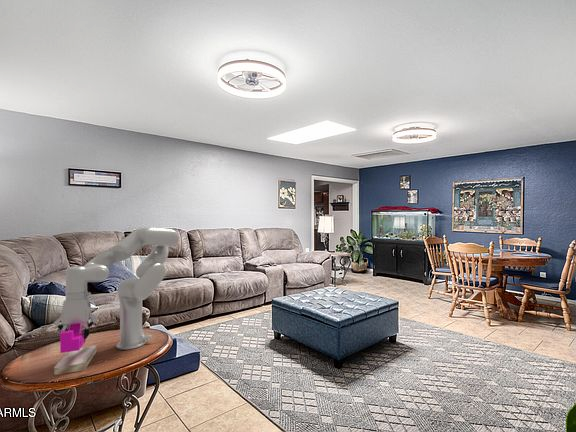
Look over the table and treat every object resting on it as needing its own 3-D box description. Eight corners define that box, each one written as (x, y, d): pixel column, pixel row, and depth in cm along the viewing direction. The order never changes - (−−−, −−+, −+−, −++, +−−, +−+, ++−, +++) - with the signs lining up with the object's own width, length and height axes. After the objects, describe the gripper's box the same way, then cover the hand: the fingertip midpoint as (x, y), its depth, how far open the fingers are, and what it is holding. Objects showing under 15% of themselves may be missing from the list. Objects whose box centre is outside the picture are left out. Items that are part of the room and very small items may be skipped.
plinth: (96, 352, 142) (96, 345, 142) (84, 370, 124) (84, 362, 124) (70, 355, 138) (70, 348, 138) (54, 375, 120) (54, 367, 120)
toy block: (79, 350, 123) (79, 331, 124) (60, 353, 121) (60, 333, 121) (88, 337, 137) (88, 320, 138) (71, 340, 135) (71, 322, 135)
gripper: (101, 292, 138) (101, 333, 138) (55, 296, 132) (54, 338, 132) (97, 296, 131) (97, 339, 130) (48, 299, 125) (47, 345, 125)
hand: (76, 338), depth 131 cm, fingers closed on toy block, 6 cm apart
